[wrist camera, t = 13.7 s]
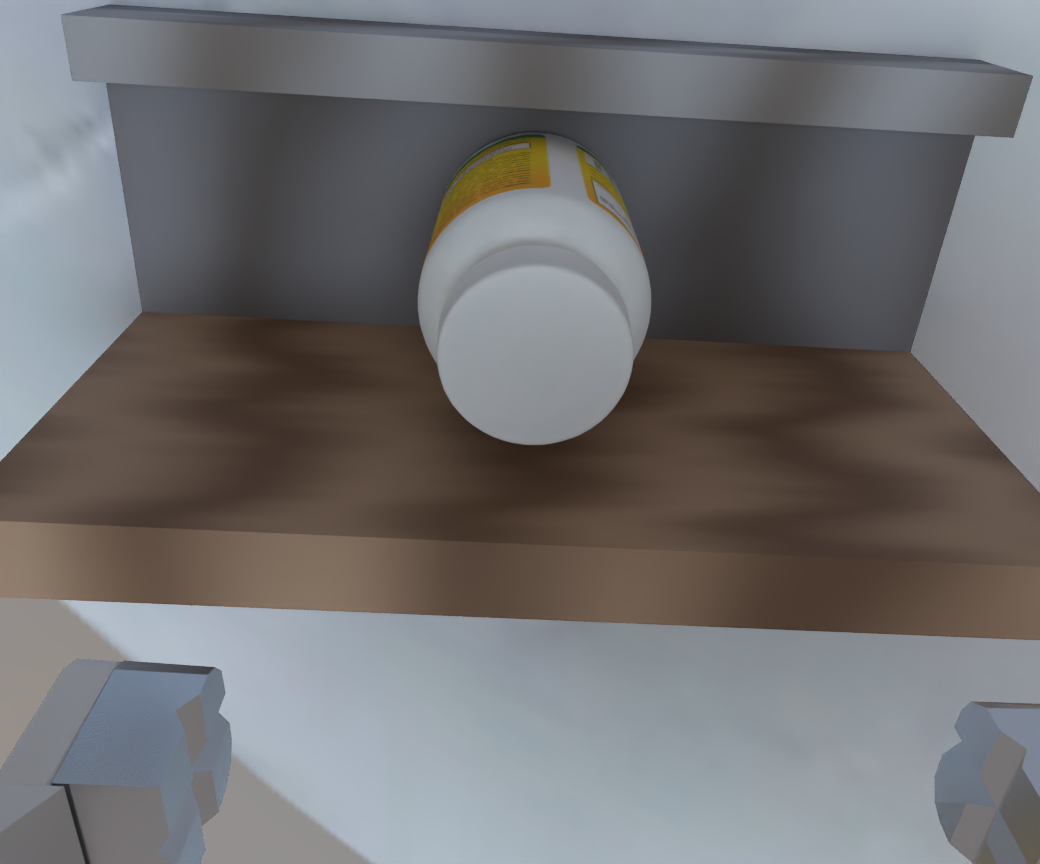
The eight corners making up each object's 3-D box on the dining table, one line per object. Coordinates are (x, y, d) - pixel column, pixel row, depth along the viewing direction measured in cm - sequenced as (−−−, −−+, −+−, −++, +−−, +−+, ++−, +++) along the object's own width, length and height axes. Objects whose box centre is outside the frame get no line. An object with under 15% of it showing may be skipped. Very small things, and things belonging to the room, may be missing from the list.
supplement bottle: (649, 161, 26) (716, 278, 17) (587, 328, 28) (617, 501, 20) (467, 102, 25) (442, 194, 16) (418, 279, 27) (376, 438, 19)
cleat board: (979, 59, 25) (1308, 158, 15) (882, 393, 30) (1075, 641, 20) (109, 4, 24) (-195, 67, 14) (162, 357, 30) (-30, 596, 19)
